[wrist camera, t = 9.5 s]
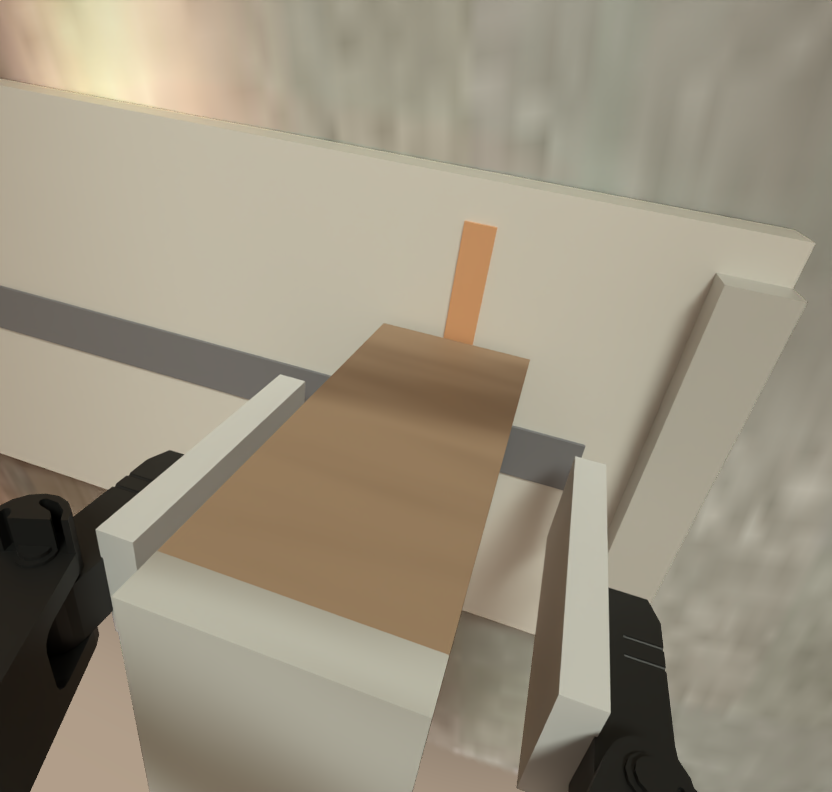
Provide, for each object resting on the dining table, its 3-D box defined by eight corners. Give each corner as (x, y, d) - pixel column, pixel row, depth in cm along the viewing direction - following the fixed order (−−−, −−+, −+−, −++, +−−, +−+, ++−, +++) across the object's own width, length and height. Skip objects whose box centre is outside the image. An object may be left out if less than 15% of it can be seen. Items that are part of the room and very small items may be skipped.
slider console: (-182, 43, 18) (-285, 35, 16) (794, 229, 13) (833, 253, 11) (-61, 404, 25) (-122, 432, 23) (606, 624, 20) (607, 686, 18)
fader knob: (383, 322, 15) (111, 597, 7) (530, 359, 14) (432, 717, 6) (363, 494, 18) (157, 832, 10) (483, 531, 17) (374, 932, 9)
